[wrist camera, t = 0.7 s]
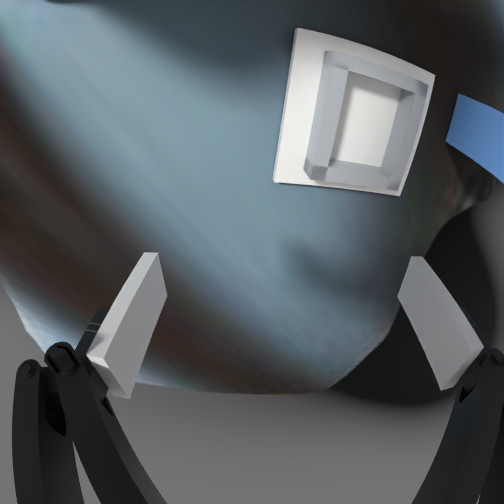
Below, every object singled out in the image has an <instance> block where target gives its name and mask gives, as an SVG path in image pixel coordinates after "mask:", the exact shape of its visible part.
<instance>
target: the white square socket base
mask: <svg viewBox="0 0 504 504" xmlns="http://www.w3.org/2000/svg"><path fill="white" fill-rule="evenodd" d="M434 79H435V75H434V74H432V73H430V72H428V71H426V70H424V69H421V68H419V67H417V66H415V65H413V64H411V63H409V62H406V61H404V60H402V59H399V58H397V57H395V56H392V55H390V54H387V53H384V52H382V51H379V50H376V49H374V48H371V47H368V46H365V45H362V44H359V43H356V42H353V41H349V40H346V39H343V38H339V37H335V36H332V35H328V34H324V33H320V32H315V31H311V30H306V29H301V28H296V29H295V33H294V40H293V47H292V54H291V61H290V68H289V75H288V82H287V88H286V95H285V102H284V109H283V115H282V122H281V128H280V135H279V141H278V148H277V154H276V161H275V167H274V174H273V180H274V182H280V183H293V184H305V185H316V186H326V187H335V188H344V189H352V190H360V191H368V192H375V193H382V194H389V195H395V196H400V194H401V191H402V189H403V186H404V183H405V181H406V178H407V175H408V172H409V169H410V166H411V163H412V160H413V157H414V154H415V151H416V148H417V145H418V141H419V138H420V135H421V131H422V128H423V124H424V121H425V117H426V113H427V109H428V105H429V101H430V97H431V93H432V88H433V84H434Z"/></svg>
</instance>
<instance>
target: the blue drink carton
mask: <svg viewBox="0 0 504 504" xmlns="http://www.w3.org/2000/svg"><path fill="white" fill-rule="evenodd" d="M445 142H447V143H449V144H450V145H452V146H453V147H455V148H456V149H458V150H459V151H461V152H462V153H464V154H465V155H467V156H468V157H470V158H471V159H473V160H474V161H475V162H477V163H478V164H480V165H481V166H482V167H484V168H485V169H486V170H488V171H489V172H490V173H492V174H493V175H494V176H495V177H497V178H498V179H499V180H501V181H502V182H503V183H504V114H503V113H501V112H499V111H497V110H495V109H493V108H491V107H489V106H487V105H485V104H483V103H480V102H478V101H476V100H473V99H471V98H469V97H466V96H464V95H461V94H459V93H458V97H457V102H456V106H455V109H454V113H453V117H452V121H451V124H450V128H449V131H448V134H447V138H446V141H445Z"/></svg>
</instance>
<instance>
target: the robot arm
mask: <svg viewBox="0 0 504 504" xmlns="http://www.w3.org/2000/svg"><path fill="white" fill-rule="evenodd" d="M166 297H167V293H166V288H165V284H164V279H163V275H162V270H161V265H160V261H159V256H158V253H144V254H143V255H142V257H141V258H140V260H139V262H138V263H137V265H136V266H135V268H134V270H133V271H132V273H131V274H130V276H129V278H128V279H127V281H126V283H125V284H124V286H123V288H122V289H121V291H120V293H119V294H118V296H117V298H116V300H115V301H114V303H113V305H112V307H102V308H101V309H100V310H99V311H98V312H97V313H96V314H95V315H94V317H93V319H92V320H91V322H90V324H89V326H88V327H87V329H86V330H87V331H85V333H84V334H83V336H82V338H81V340H80V342H79V344H78V345H77V347H76V349H75V351H74V349H73V348H72V346H71V345H70V344H69V343H67V342H58V343H55V344H54V345H52V346H50V348H49V349H48V350H47V351H46V353H45V356H44V362H45V363H46V364H47V366H48V367H41V366H40V364H39V363H38V362H37V361H36V360H34V359H29V360H26V361H24V362H23V363H22V364H21V365H20V366H19V368H18V370H17V374H16V382H15V390H14V401H13V416H12V455H13V471H14V481H15V490H16V497H17V503H18V504H84V500H83V496H82V492H81V487H80V483H79V478H78V472H77V467H76V461H75V454H74V448H73V442H74V444H75V447H76V450H77V452H78V455H79V457H80V460H81V462H82V465H83V467H84V469H85V472H86V474H87V476H88V478H89V480H90V483H91V485H92V487H93V489H94V491H95V493H96V495H97V497H98V499H99V500H100V502H101V504H167V503H166V502H165V500H164V499H163V497H162V496H161V494H160V493H159V491H158V490H157V488H156V487H155V485H154V484H153V482H152V481H151V479H150V478H149V476H148V474H147V473H146V471H145V470H144V468H143V466H142V465H141V463H140V462H139V460H138V458H137V456H136V454H135V452H134V451H133V449H132V447H131V445H130V443H129V441H128V440H127V438H126V436H125V434H124V432H123V430H122V428H121V426H120V424H119V422H118V420H117V418H116V416H115V413H114V411H113V409H112V407H111V404H110V402H109V400H108V398H107V397H106V394H107V391H108V389H109V390H110V391H111V392H112V394H113V395H114V396H118V397H122V398H127V399H130V397H131V394H132V390H133V387H134V384H135V381H136V378H137V375H138V373H139V370H140V367H141V364H142V361H143V358H144V355H145V353H146V350H147V347H148V344H149V342H150V339H151V336H152V333H153V331H154V328H155V325H156V323H157V320H158V318H159V315H160V312H161V310H162V307H163V305H164V302H165V300H166ZM397 297H398V299H399V301H400V303H401V304H402V306H403V308H404V310H405V312H406V314H407V316H408V318H409V320H410V322H411V324H412V326H413V328H414V330H415V332H416V334H417V336H418V338H419V340H420V342H421V345H422V347H423V349H424V351H425V353H426V356H427V358H428V360H429V362H430V365H431V367H432V369H433V372H434V374H435V376H436V379H437V381H438V384H439V386H440V389H441V390H443V389H447V388H450V387H453V386H454V385H455V384H456V383H457V381H458V380H459V379H460V380H461V383H462V384H461V385H460V386H459V387H458V389H457V390H456V391H455V392H454V393H453V394H452V395H451V399H452V398H453V397H454V396H455V395H456V394H457V396H456V398H455V403H454V406H453V410H452V413H451V416H450V419H449V422H448V425H447V428H446V430H445V433H444V436H443V438H442V441H441V444H440V446H439V449H438V451H437V454H436V456H435V458H434V461H433V463H432V465H431V467H430V469H429V472H428V474H427V476H426V478H425V480H424V482H423V484H422V486H421V487H420V489H419V491H418V493H417V495H416V497H415V499H414V500H413V502H412V504H476V503H477V500H478V498H479V495H480V498H479V503H478V504H504V354H503V353H502V352H501V351H499V350H498V349H495V348H491V349H490V347H489V346H488V344H487V342H486V340H485V339H484V337H483V335H482V334H481V332H480V331H479V329H478V327H476V324H475V323H474V321H473V320H472V318H471V316H470V315H469V313H468V312H467V311H466V310H465V309H463V308H462V307H461V306H458V305H457V303H456V302H455V300H454V299H453V297H452V296H451V294H450V293H449V292H448V290H447V289H446V288H445V286H444V285H443V283H442V282H441V281H440V279H439V278H438V277H437V275H436V274H435V273H434V271H433V270H432V269H431V267H430V266H429V265H428V263H427V262H426V261H425V260H424V258H423V257H418V256H411V259H410V262H409V265H408V268H407V271H406V274H405V277H404V280H403V282H402V285H401V288H400V291H399V293H398V296H397Z"/></svg>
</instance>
